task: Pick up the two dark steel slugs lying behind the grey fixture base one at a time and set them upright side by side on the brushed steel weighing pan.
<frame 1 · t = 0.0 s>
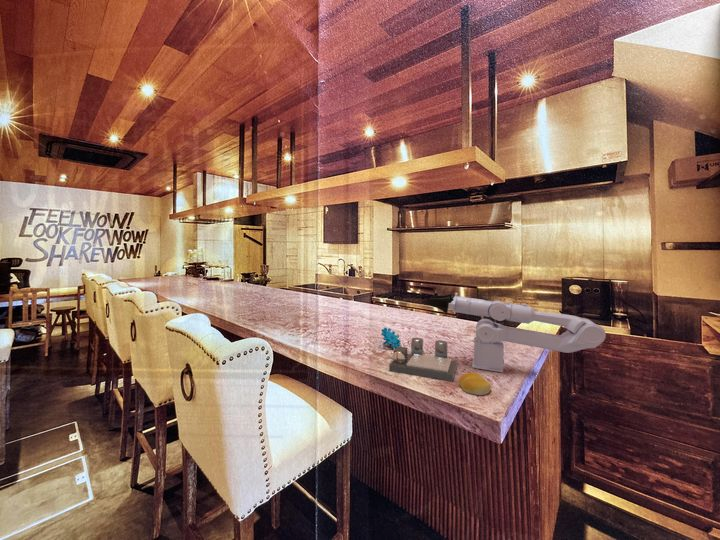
hand: (430, 300, 106), 22 cm above the countertop, tool horizontal, fingers open, 7 cm apart
bread roll: (474, 389, 83), on the countertop
spacer a: (441, 358, 108), on the countertop
gear: (391, 346, 122), on the countertop
spacer b: (416, 354, 111), on the countertop
grey fixture base: (423, 368, 97), on the countertop
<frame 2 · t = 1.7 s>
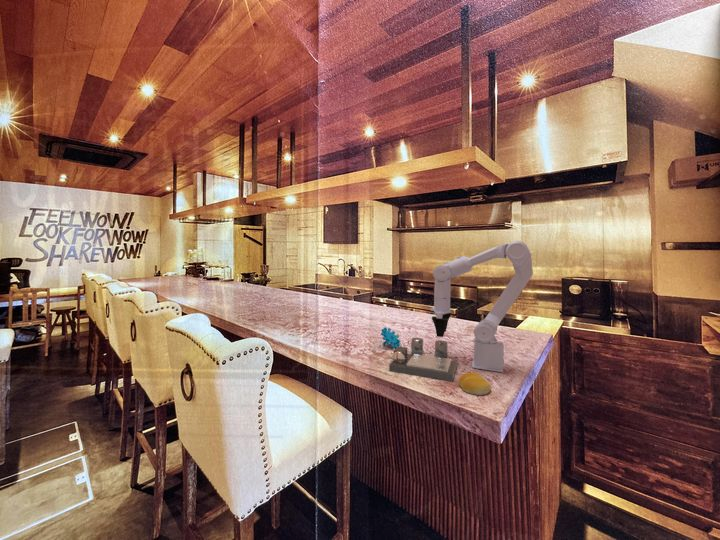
hand: (441, 334, 107), 9 cm above the countertop, tool pointing down, fingers open, 7 cm apart
nothing on the countertop moved.
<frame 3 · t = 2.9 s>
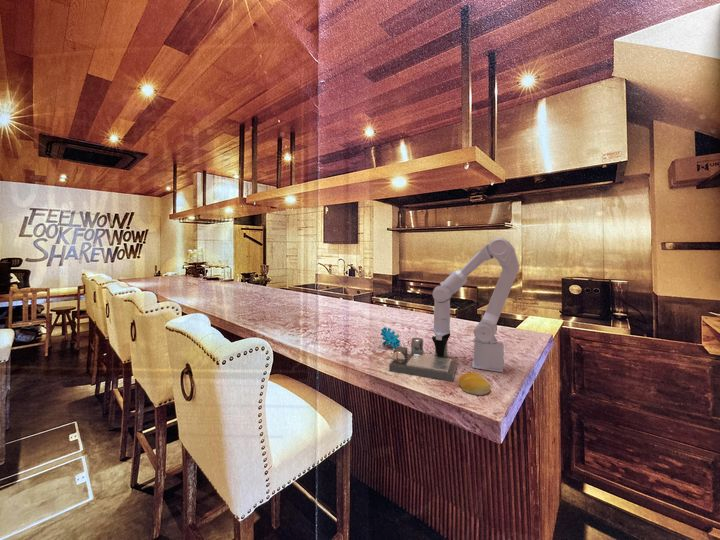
hand: (441, 354, 108), 1 cm above the countertop, tool pointing down, fingers closed on spacer a, 4 cm apart
spacer a: (441, 357, 108), on the countertop, touching gripper
everything else where it was.
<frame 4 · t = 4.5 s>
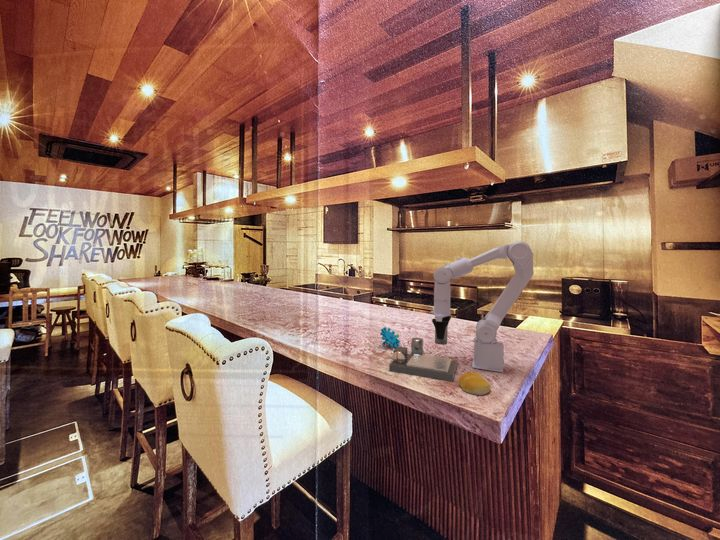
hand: (441, 337, 105), 8 cm above the countertop, tool pointing down, fingers closed on spacer a, 4 cm apart
spacer a: (441, 342, 106), point 6 cm above the countertop, touching gripper
everything else where it was.
when the fingers open (6 cm above the countertop, at t = 6.1 s): spacer a stays where it is, resting on grey fixture base.
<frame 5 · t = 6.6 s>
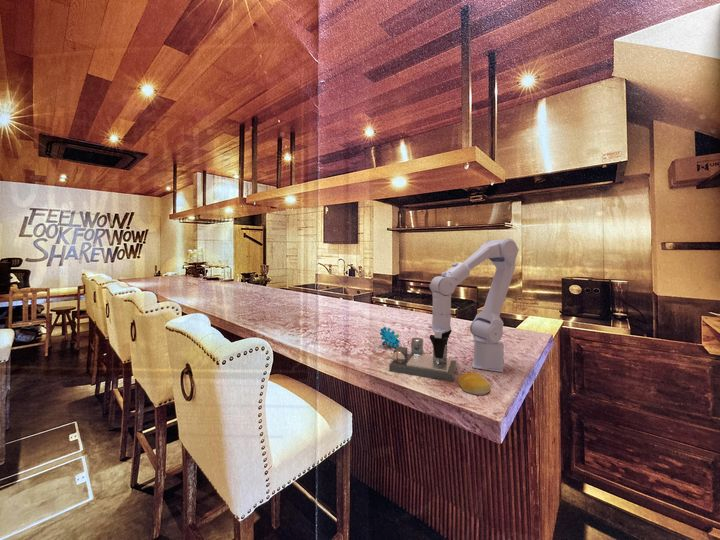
hand: (440, 354, 95), 6 cm above the countertop, tool pointing down, fingers open, 7 cm apart
spacer a: (439, 362, 95), point 3 cm above the countertop, touching grey fixture base
everything else where it was.
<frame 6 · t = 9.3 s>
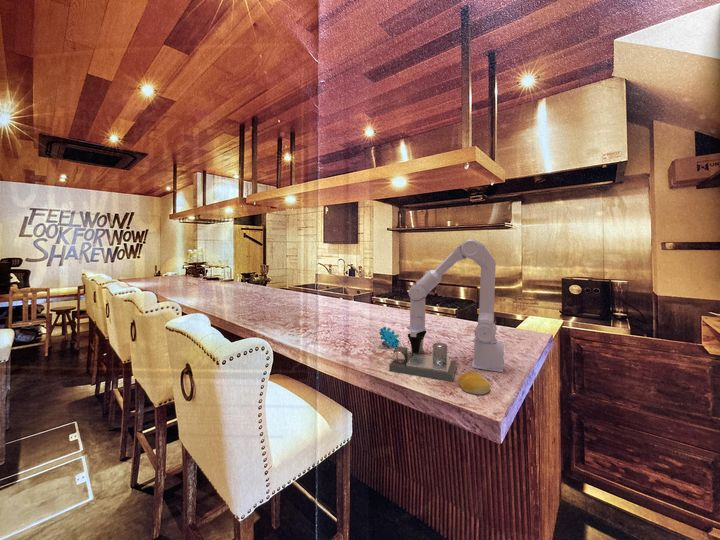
hand: (417, 350, 111), 1 cm above the countertop, tool pointing down, fingers closed on spacer b, 4 cm apart
spacer b: (416, 354, 111), on the countertop, touching gripper
when the fingers open (6 cm above the countertop, at t = 12.4 s): spacer b stays where it is, resting on grey fixture base.
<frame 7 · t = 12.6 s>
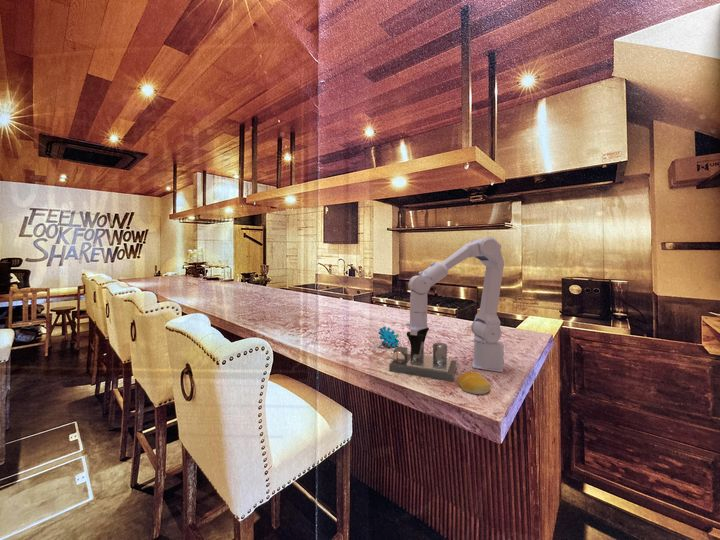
hand: (417, 351, 98), 6 cm above the countertop, tool pointing down, fingers open, 6 cm apart
spacer b: (417, 359, 98), point 3 cm above the countertop, touching grey fixture base
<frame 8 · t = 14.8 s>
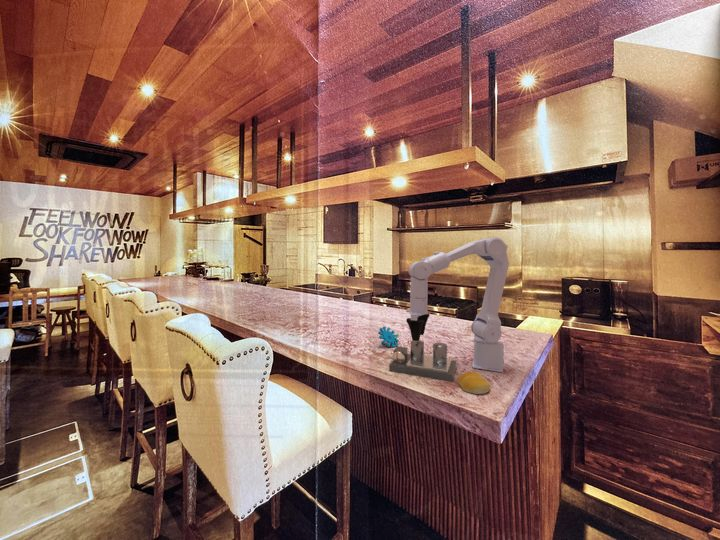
hand: (418, 337, 98), 10 cm above the countertop, tool pointing down, fingers open, 7 cm apart
at the end: spacer a inside the target area on the grey fixture base (0.0 cm from its centre), point 2.8 cm above the grey fixture base's base; spacer b inside the target area on the grey fixture base (0.5 cm from its centre), point 2.8 cm above the grey fixture base's base; spacer b tilted 1° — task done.
